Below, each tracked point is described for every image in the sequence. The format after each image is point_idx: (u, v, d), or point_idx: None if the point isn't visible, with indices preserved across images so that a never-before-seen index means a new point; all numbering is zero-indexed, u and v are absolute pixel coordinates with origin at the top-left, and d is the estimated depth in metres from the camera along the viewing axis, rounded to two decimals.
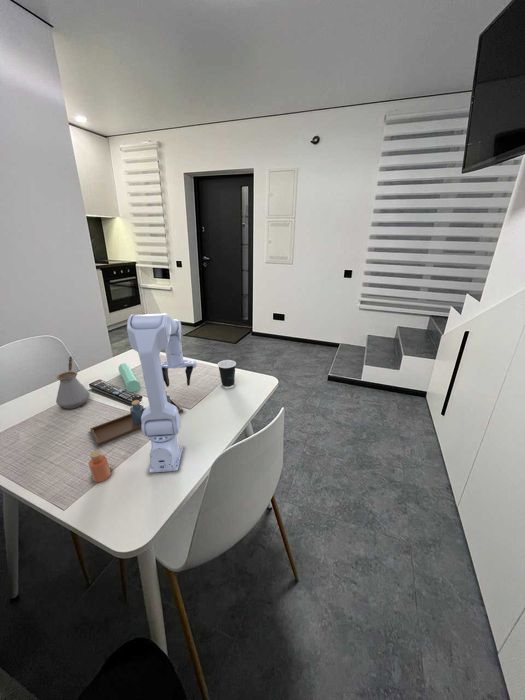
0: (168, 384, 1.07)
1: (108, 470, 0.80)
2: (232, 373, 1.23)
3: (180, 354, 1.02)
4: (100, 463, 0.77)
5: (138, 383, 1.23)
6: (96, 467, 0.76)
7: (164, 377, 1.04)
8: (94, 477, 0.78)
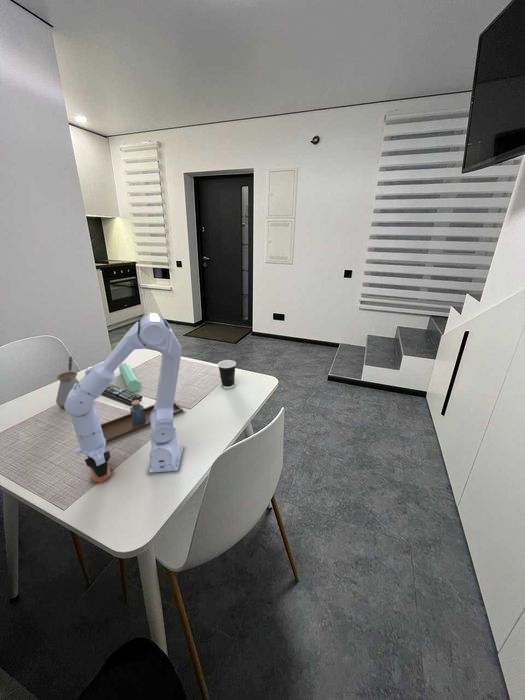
0: None
1: (108, 470, 0.80)
2: (232, 373, 1.23)
3: None
4: None
5: (139, 383, 1.23)
6: None
7: None
8: (94, 477, 0.78)
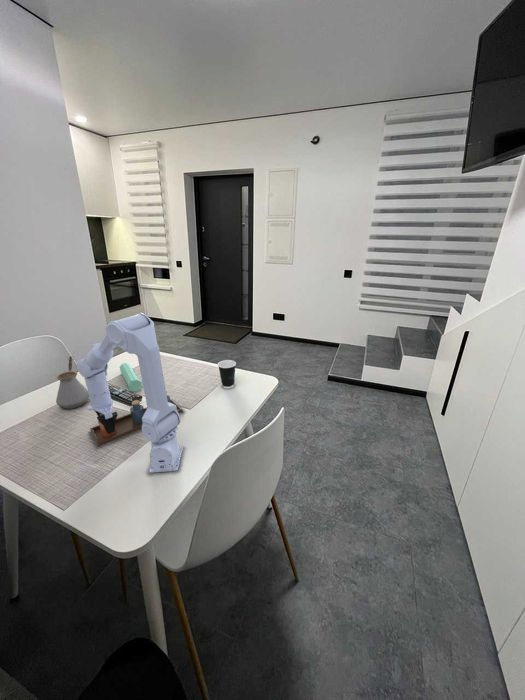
0: None
1: None
2: (232, 373, 1.23)
3: None
4: None
5: (140, 383, 1.23)
6: None
7: None
8: (103, 432, 0.95)
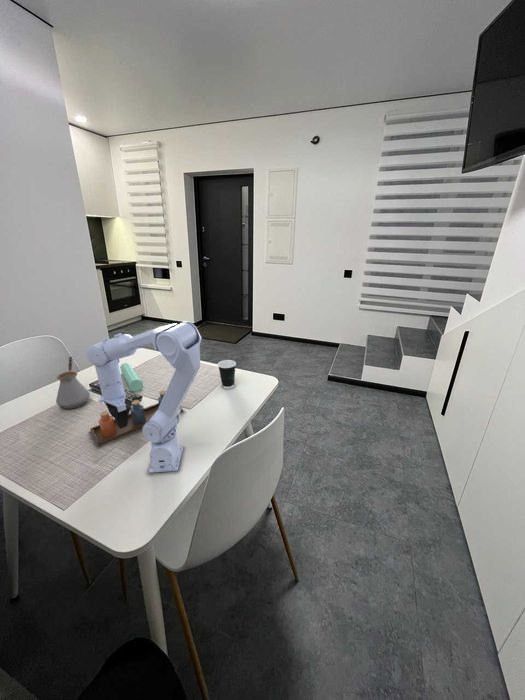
0: None
1: (114, 428, 0.96)
2: (232, 373, 1.23)
3: None
4: (108, 421, 0.94)
5: (141, 382, 1.24)
6: (105, 423, 0.93)
7: None
8: (103, 432, 0.95)
